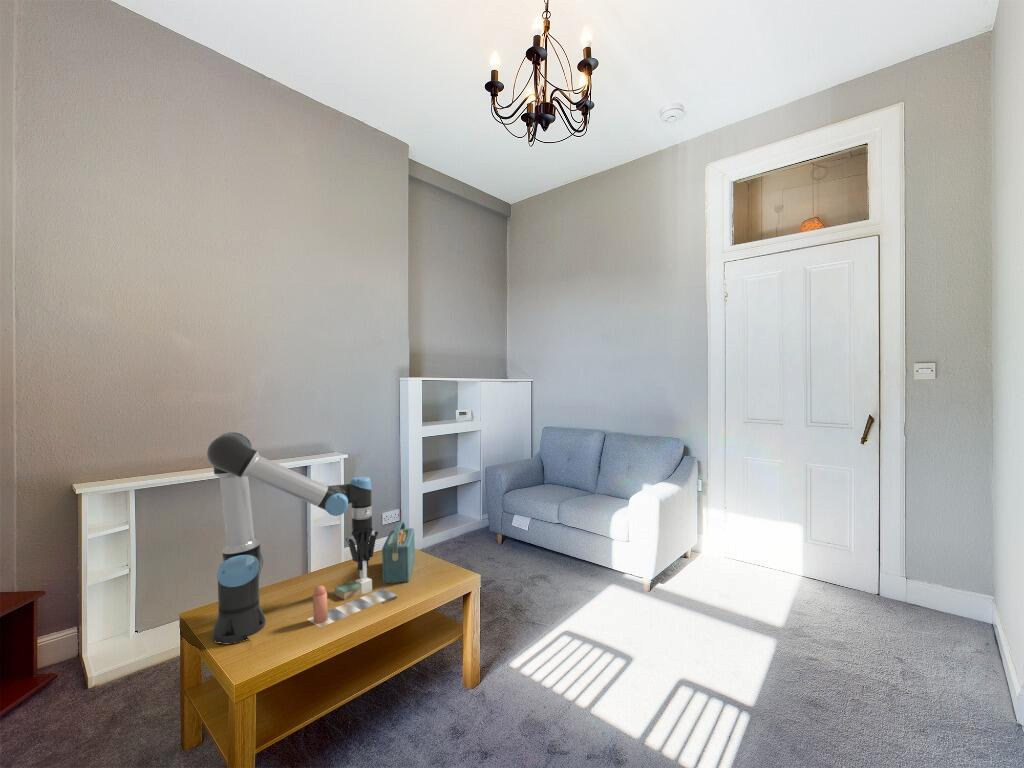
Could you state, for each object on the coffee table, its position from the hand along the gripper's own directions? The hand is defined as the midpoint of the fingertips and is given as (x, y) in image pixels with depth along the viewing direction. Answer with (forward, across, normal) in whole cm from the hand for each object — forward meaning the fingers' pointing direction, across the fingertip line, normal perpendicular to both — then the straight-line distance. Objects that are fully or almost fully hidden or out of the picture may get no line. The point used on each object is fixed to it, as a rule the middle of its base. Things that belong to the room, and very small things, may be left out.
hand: (363, 577), depth 182 cm
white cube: (+3, -2, 0) cm, 4 cm away
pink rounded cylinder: (+4, -23, -11) cm, 26 cm away
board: (+5, -10, -11) cm, 16 cm away
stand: (+5, -6, 0) cm, 8 cm away
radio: (+6, +20, +5) cm, 22 cm away
